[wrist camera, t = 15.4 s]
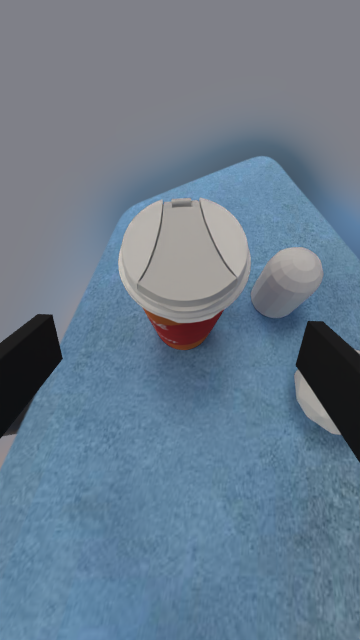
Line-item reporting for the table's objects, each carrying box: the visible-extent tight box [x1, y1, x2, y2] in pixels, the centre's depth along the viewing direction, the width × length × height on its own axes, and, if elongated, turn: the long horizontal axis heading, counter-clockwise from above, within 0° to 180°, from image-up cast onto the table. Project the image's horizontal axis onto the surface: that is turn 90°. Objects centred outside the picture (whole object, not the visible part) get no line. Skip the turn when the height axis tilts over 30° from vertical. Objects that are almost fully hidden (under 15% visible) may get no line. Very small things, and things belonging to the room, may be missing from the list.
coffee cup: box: [118, 198, 251, 350], centre depth 21 cm, size 8×8×15 cm
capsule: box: [251, 247, 323, 318], centre depth 25 cm, size 5×5×8 cm
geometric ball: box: [294, 349, 360, 435], centre depth 22 cm, size 8×8×8 cm
